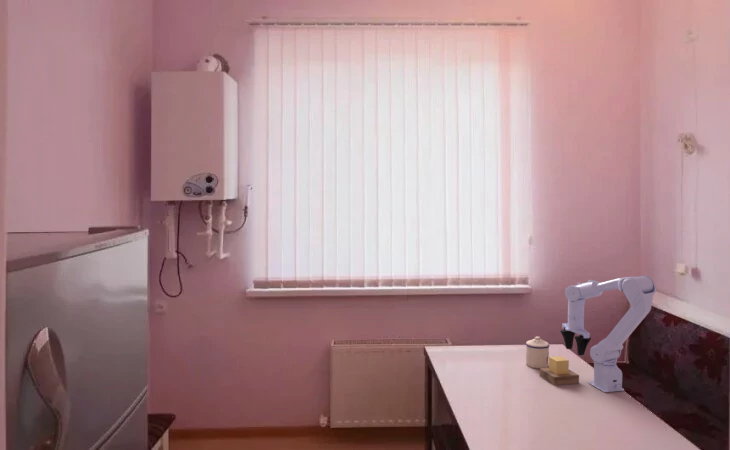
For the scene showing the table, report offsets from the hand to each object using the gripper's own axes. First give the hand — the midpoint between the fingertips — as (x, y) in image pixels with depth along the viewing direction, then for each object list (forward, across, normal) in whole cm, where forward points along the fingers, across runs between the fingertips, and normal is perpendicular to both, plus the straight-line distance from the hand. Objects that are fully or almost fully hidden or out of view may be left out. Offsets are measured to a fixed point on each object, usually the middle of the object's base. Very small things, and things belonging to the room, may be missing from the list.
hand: (574, 351), depth 204 cm
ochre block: (+6, +2, -8) cm, 11 cm away
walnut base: (+9, +2, -8) cm, 12 cm away
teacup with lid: (+10, -16, -7) cm, 20 cm away
